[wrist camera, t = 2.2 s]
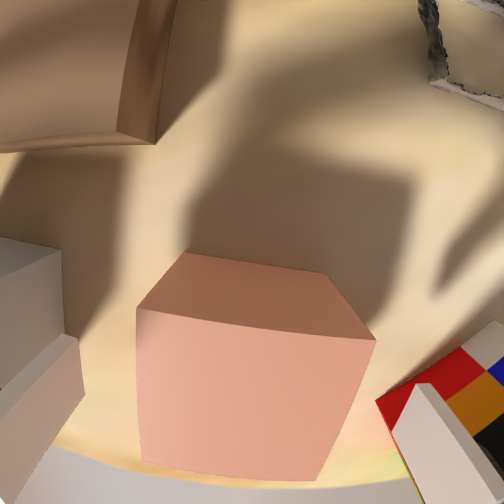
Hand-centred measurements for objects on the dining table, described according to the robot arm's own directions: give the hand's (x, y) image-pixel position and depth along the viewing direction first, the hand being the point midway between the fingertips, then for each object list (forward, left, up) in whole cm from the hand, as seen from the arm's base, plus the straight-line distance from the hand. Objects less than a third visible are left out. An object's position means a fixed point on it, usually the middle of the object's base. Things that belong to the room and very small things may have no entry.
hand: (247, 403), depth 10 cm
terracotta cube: (0, 0, -6) cm, 6 cm away
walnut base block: (-13, -11, -6) cm, 18 cm away
